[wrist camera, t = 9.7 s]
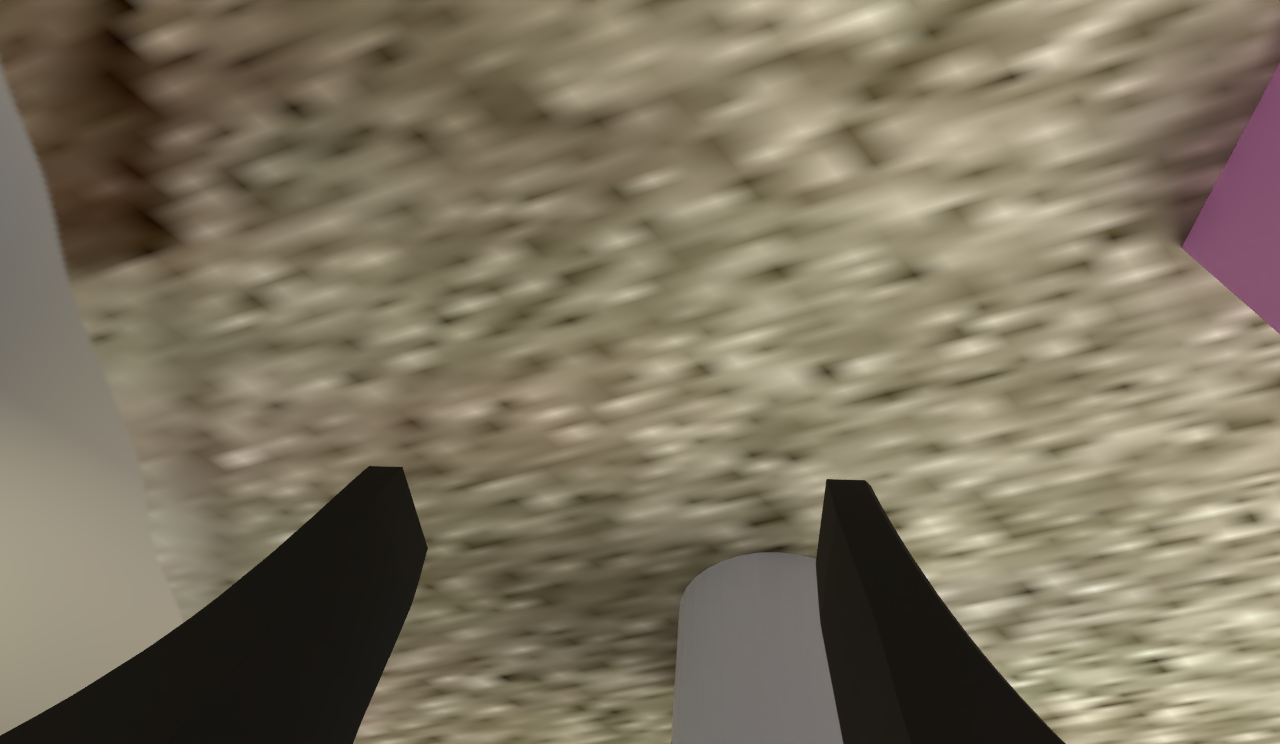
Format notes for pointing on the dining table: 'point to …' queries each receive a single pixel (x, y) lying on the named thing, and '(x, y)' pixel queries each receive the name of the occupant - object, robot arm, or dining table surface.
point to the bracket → (1247, 214)
